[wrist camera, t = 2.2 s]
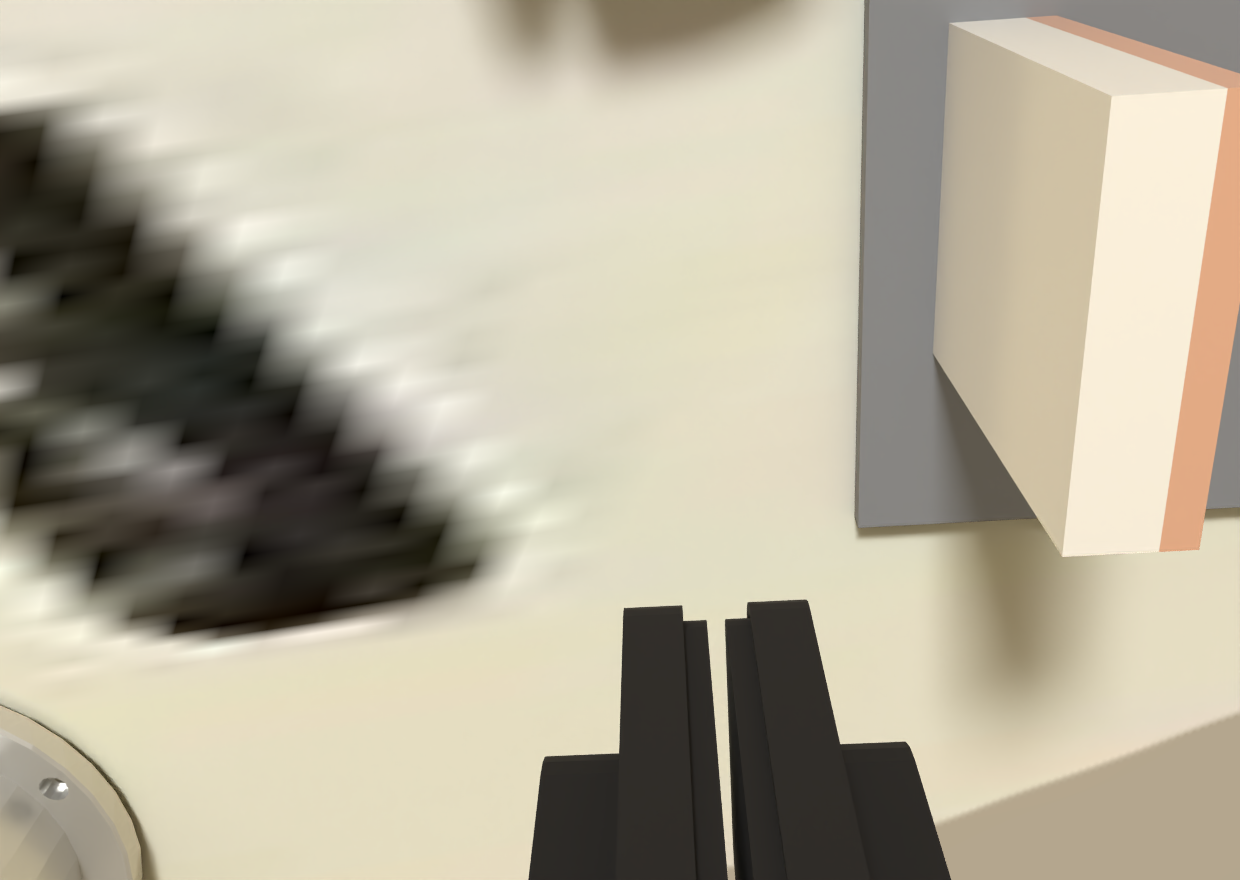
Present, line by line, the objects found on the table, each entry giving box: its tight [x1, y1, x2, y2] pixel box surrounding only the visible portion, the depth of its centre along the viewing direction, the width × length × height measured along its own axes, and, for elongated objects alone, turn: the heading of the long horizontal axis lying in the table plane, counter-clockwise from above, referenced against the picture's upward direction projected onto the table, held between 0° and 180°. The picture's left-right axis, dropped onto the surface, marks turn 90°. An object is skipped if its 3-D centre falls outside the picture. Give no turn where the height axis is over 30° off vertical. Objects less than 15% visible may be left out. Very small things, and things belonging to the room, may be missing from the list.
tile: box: [933, 15, 1240, 557], centre depth 24 cm, size 8×2×10 cm, turn 4°
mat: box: [855, 0, 1240, 528], centre depth 28 cm, size 18×16×1 cm
